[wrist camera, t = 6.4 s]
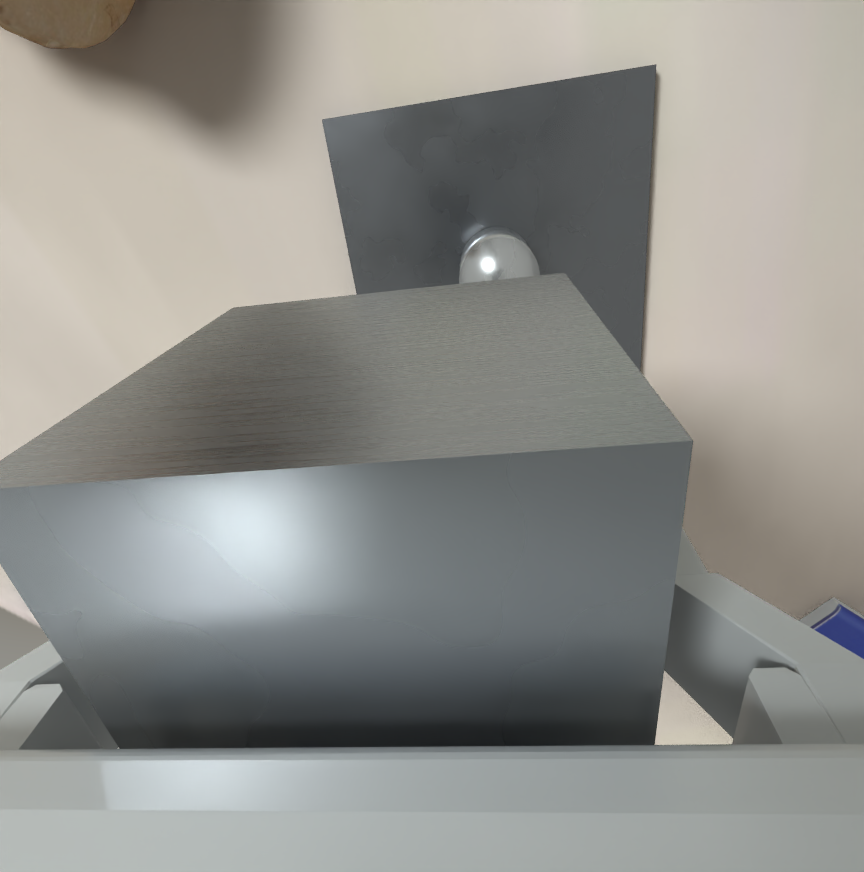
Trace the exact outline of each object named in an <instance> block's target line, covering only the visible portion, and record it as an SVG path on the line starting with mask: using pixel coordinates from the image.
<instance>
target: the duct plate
mask: <svg viewBox="0 0 864 872" xmlns="http://www.w3.org/2000/svg"><path fill="white" fill-rule="evenodd" d="M655 79H656V65H650V66H644V67H638V68H632V69H626V70H620V71H614V72H608V73H602V74H595V75H589V76H583V77H577V78H571V79H565V80H559V81H553V82H547V83H541V84H535V85H529V86H523V87H517V88H511V89H504V90H498V91H492V92H486V93H480V94H474V95H468V96H462V97H456V98H450V99H444V100H438V101H432V102H426V103H420V104H413V105H407V106H401V107H395V108H389V109H383V110H377V111H371V112H365V113H359V114H353V115H347V116H341V117H335V118H329V119H323V120H322V122H323V127H324V132H325V137H326V142H327V147H328V152H329V157H330V162H331V167H332V172H333V177H334V183H335V188H336V193H337V198H338V203H339V208H340V213H341V218H342V223H343V228H344V233H345V238H346V243H347V248H348V253H349V258H350V263H351V268H352V273H353V278H354V283H355V288H356V293H357V295H358V294H368V293H377V292H387V291H396V290H406V289H415V288H425V287H434V286H443V285H453V284H462V283H472V282H481V281H491V280H500V279H510V278H519V277H529V276H538V275H547V274H557V273H565V274H566V275H567V277H568V278H569V279H570V281H571V282H572V283H573V284H574V286H575V287H576V288H577V290H578V291H579V292H580V294H581V295H582V296H583V298H584V299H585V300H586V301H587V303H588V304H589V305H590V307H591V308H592V309H593V311H594V312H595V313H596V315H597V316H598V317H599V318H600V320H601V321H602V322H603V324H604V325H605V326H606V328H607V329H608V330H609V332H610V333H611V334H612V335H613V337H614V338H615V339H616V341H617V342H618V343H619V345H620V346H621V347H622V348H623V350H624V351H625V352H626V354H627V355H628V356H629V358H630V359H631V360H632V362H633V363H634V364H635V365H636V367H637V368H638V369H639V371H640V367H641V348H642V329H643V310H644V290H645V271H646V252H647V233H648V213H649V194H650V175H651V156H652V136H653V117H654V98H655Z"/></svg>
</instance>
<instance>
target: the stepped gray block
mask: <svg viewBox="0 0 864 872" xmlns="http://www.w3.org/2000/svg"><path fill="white" fill-rule="evenodd" d="M692 445H693V440H692V439H691V437H690V436H689V435H688V433H687V432H686V431H685V429H684V428H683V427H682V426H681V424H680V423H679V422H678V420H677V419H676V418H675V416H674V415H673V414H672V413H671V411H670V410H669V409H668V407H667V406H666V405H665V403H664V402H663V401H662V399H661V398H660V397H659V396H658V394H657V393H656V392H655V390H654V389H653V388H652V386H651V385H650V384H649V382H648V381H647V380H646V379H645V377H644V376H643V375H642V373H641V372H640V371H639V369H638V368H637V367H636V365H635V364H634V363H633V362H632V360H631V359H630V358H629V356H628V355H627V354H626V352H625V351H624V350H623V348H622V347H621V346H620V345H619V343H618V342H617V341H616V339H615V338H614V337H613V335H612V334H611V333H610V332H609V330H608V329H607V328H606V326H605V325H604V324H603V322H602V321H601V320H600V318H599V317H598V316H597V315H596V313H595V312H594V311H593V309H592V308H591V307H590V305H589V304H588V303H587V301H586V300H585V299H584V298H583V296H582V295H581V294H580V292H579V291H578V290H577V288H576V287H575V286H574V284H573V283H572V282H571V281H570V279H569V278H568V277H567V275H566V274H565V273H557V274H547V275H538V276H529V277H519V278H510V279H500V280H491V281H481V282H472V283H462V284H453V285H443V286H434V287H425V288H415V289H406V290H396V291H387V292H377V293H368V294H358V295H349V296H339V297H330V298H320V299H311V300H302V301H292V302H283V303H273V304H264V305H254V306H245V307H235V308H232V309H230V310H229V311H227V312H226V313H224V314H223V315H221V316H220V317H218V318H217V319H215V320H214V321H212V322H210V323H209V324H207V325H206V326H204V327H203V328H201V329H200V330H198V331H197V332H195V333H194V334H192V335H191V336H189V337H188V338H186V339H185V340H183V341H182V342H180V343H179V344H177V345H176V346H174V347H172V348H171V349H169V350H168V351H166V352H165V353H163V354H162V355H160V356H159V357H157V358H156V359H154V360H153V361H151V362H150V363H148V364H147V365H145V366H144V367H142V368H141V369H139V370H137V371H136V372H134V373H133V374H131V375H130V376H128V377H127V378H125V379H124V380H122V381H121V382H119V383H118V384H116V385H115V386H113V387H112V388H110V389H109V390H107V391H106V392H104V393H103V394H101V395H99V396H98V397H96V398H95V399H93V400H92V401H90V402H89V403H87V404H86V405H84V406H83V407H81V408H80V409H78V410H77V411H75V412H74V413H72V414H71V415H69V416H68V417H66V418H65V419H63V420H61V421H60V422H58V423H57V424H55V425H54V426H52V427H51V428H49V429H48V430H46V431H45V432H43V433H42V434H40V435H39V436H37V437H36V438H34V439H33V440H31V441H30V442H28V443H27V444H25V445H23V446H22V447H20V448H19V449H17V450H16V451H14V452H13V453H11V454H10V455H8V456H7V457H5V458H4V459H2V460H1V461H0V564H1V566H2V567H3V569H4V571H5V572H6V574H7V575H8V577H9V578H10V580H11V581H12V583H13V584H14V586H15V588H16V589H17V591H18V592H19V594H20V595H21V597H22V598H23V600H24V601H25V603H26V605H27V606H28V608H29V609H30V611H31V612H32V614H33V615H34V617H35V618H36V620H37V622H38V623H39V625H40V626H41V628H42V629H43V631H44V632H45V634H46V635H47V637H48V638H49V640H50V642H51V643H52V645H53V646H54V648H55V649H56V651H57V653H58V654H59V656H60V657H61V659H62V660H63V662H64V663H65V665H66V666H67V668H68V670H69V671H70V673H71V674H72V676H73V677H74V679H75V680H76V682H77V683H78V685H79V687H80V688H81V690H82V691H83V693H84V694H85V696H86V697H87V699H88V700H89V702H90V704H91V705H92V707H93V708H94V710H95V711H96V713H97V714H98V716H99V717H100V719H101V721H102V722H103V724H104V725H105V727H106V728H107V730H108V731H109V733H110V735H111V736H112V738H113V739H114V741H115V742H116V744H117V745H118V747H119V748H120V749H174V748H310V747H447V746H583V745H654V744H655V736H656V728H657V721H658V713H659V705H660V697H661V689H662V681H663V673H664V666H665V658H666V650H667V642H668V634H669V626H670V618H671V610H672V603H673V595H674V587H675V579H676V571H677V563H678V555H679V547H680V540H681V532H682V524H683V516H684V508H685V500H686V492H687V484H688V477H689V469H690V461H691V453H692Z"/></svg>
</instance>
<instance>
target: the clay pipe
mask: <svg viewBox="0 0 864 872" xmlns="http://www.w3.org/2000/svg"><path fill="white" fill-rule="evenodd" d="M134 3H135V0H0V26H1V27H2V28H4V29H5V30H7V31H10V32H12V33H14V34H16V35H19V36H21V37H23V38H26V39H28V40H30V41H33V42H35V43H37V44H40V45H42V46H44V47H48V48H57V49H63V48H70V47H73V48H87V47H91V46H95V45H97V44H99V43H101V42H103V41H105V40H107V39H108V38H109V37H110V36H111V35H112V34H113V33H114V32H115V31H116V30H117V29H118V28H119V27H120V26H121V25H122V24H123V23H124V22H125V21H126V19H127V17H128V16H129V14H130V12H131V10H132V7H133V5H134Z"/></svg>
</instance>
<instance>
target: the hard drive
mask: <svg viewBox="0 0 864 872" xmlns="http://www.w3.org/2000/svg"><path fill="white" fill-rule="evenodd" d="M799 621H800V622H802V623H803V624H805V625H807V626H808V627H810V628H812V629H814V630H815V631H817V632H819V633H820V634H822V635H824V636H825V637H827V638H829V639H830V640H832V641H834V642H836V643H837V644H839V645H841V646H842V647H844V648H846V649H847V650H849V651H851V652H852V653H854V654H856V655H858V656H859V657H861V658H863V659H864V616H863V615H861V614H860V613H858V612H857V611H855V610H853V609H852V608H850V607H849V606H847V605H845V604H844V603H842V602H841V601H839V600H837V599H836V598H834V597H832V598H831V599H830V600H828V601H827V602H825V603H824V604H822V605H821V606H820V607H818V608H817V609H815V610H814V611H812V612H811V613H809V614H808V615H807V616H805V617H804V618H802V619H801V620H799Z"/></svg>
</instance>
